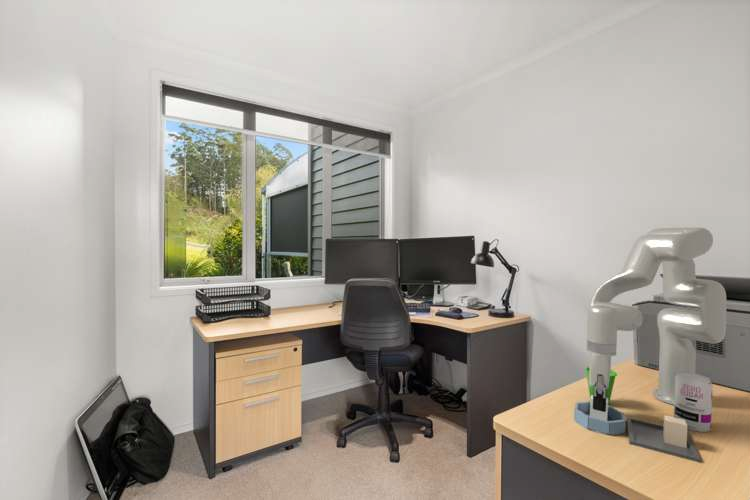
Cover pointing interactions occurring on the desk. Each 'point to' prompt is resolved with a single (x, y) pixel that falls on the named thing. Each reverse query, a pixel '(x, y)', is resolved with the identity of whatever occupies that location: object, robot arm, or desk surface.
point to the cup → (609, 390)
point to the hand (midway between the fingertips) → (599, 404)
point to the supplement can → (693, 400)
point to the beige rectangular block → (675, 431)
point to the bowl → (609, 427)
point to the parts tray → (657, 439)
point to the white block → (597, 413)
